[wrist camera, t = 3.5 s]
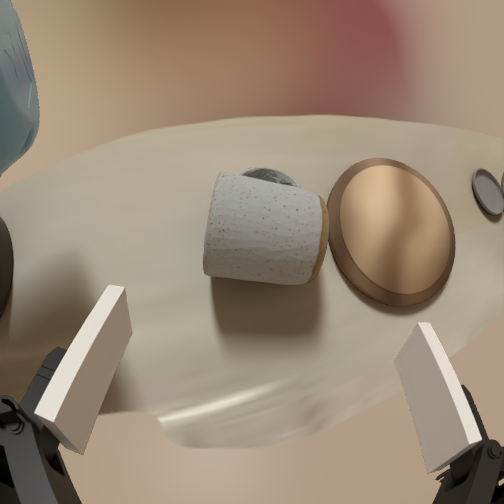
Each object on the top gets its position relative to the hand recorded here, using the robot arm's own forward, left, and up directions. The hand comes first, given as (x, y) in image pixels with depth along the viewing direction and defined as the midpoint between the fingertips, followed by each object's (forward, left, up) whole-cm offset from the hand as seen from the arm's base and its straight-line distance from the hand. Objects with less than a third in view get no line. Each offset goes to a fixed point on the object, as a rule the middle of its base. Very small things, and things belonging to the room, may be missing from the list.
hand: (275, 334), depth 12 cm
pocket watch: (+30, +19, -12) cm, 37 cm away
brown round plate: (+13, +11, -12) cm, 20 cm away
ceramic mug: (-1, +9, -12) cm, 15 cm away
